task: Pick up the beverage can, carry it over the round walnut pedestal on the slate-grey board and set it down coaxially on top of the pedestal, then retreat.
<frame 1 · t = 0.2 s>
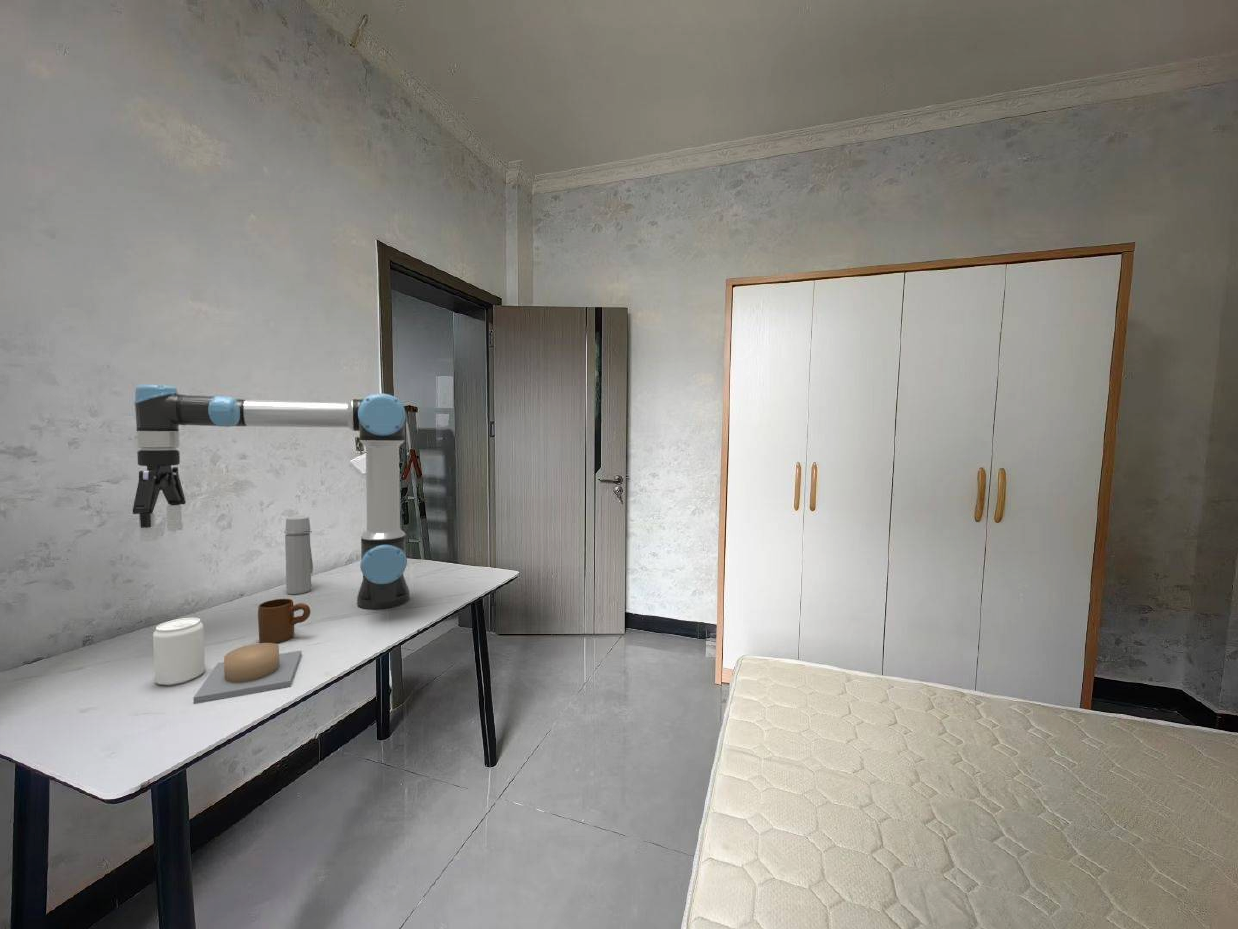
hand: (162, 535, 121), 28 cm above the table, fingers open, 13 cm apart
beverage can: (180, 678, 107), on the table
pedestal: (252, 677, 107), on the table
mug: (286, 639, 128), on the table
water bottle: (301, 591, 165), on the table
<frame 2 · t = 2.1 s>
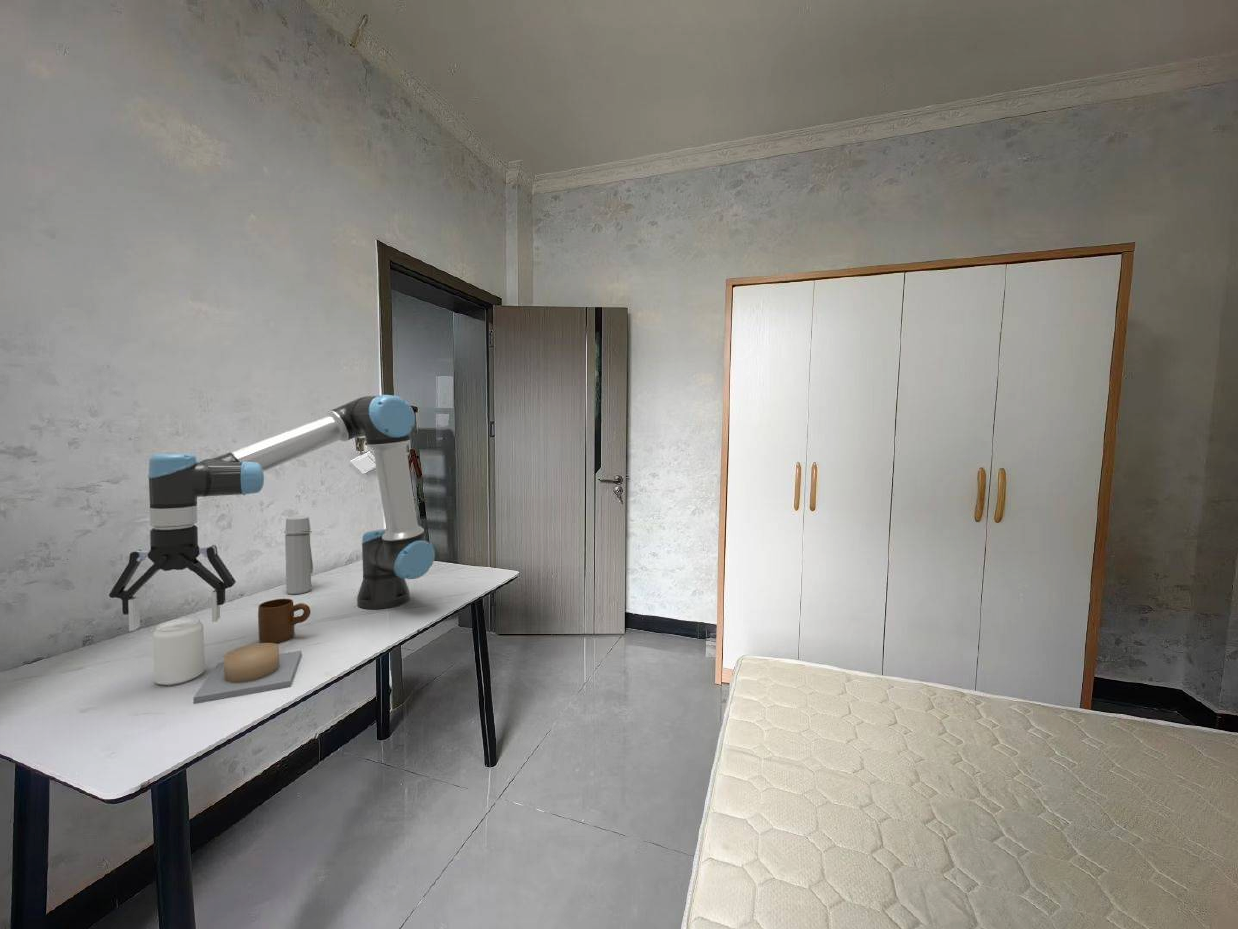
hand: (176, 624, 106), 12 cm above the table, fingers open, 13 cm apart
nothing on the table moved.
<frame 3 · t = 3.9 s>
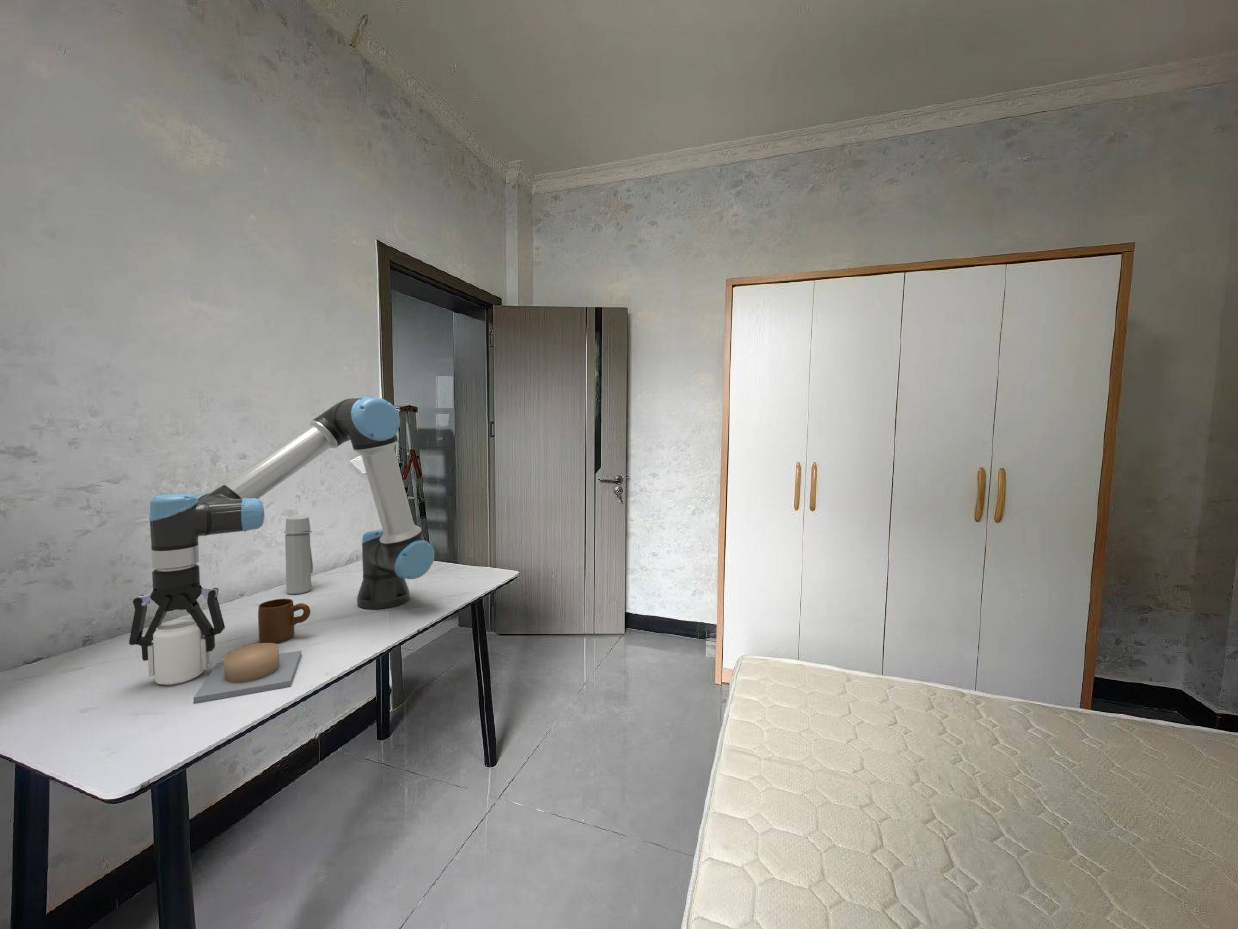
hand: (180, 669, 107), 2 cm above the table, fingers closed on beverage can, 8 cm apart
beverage can: (180, 678, 107), on the table, touching gripper
everything else where it was.
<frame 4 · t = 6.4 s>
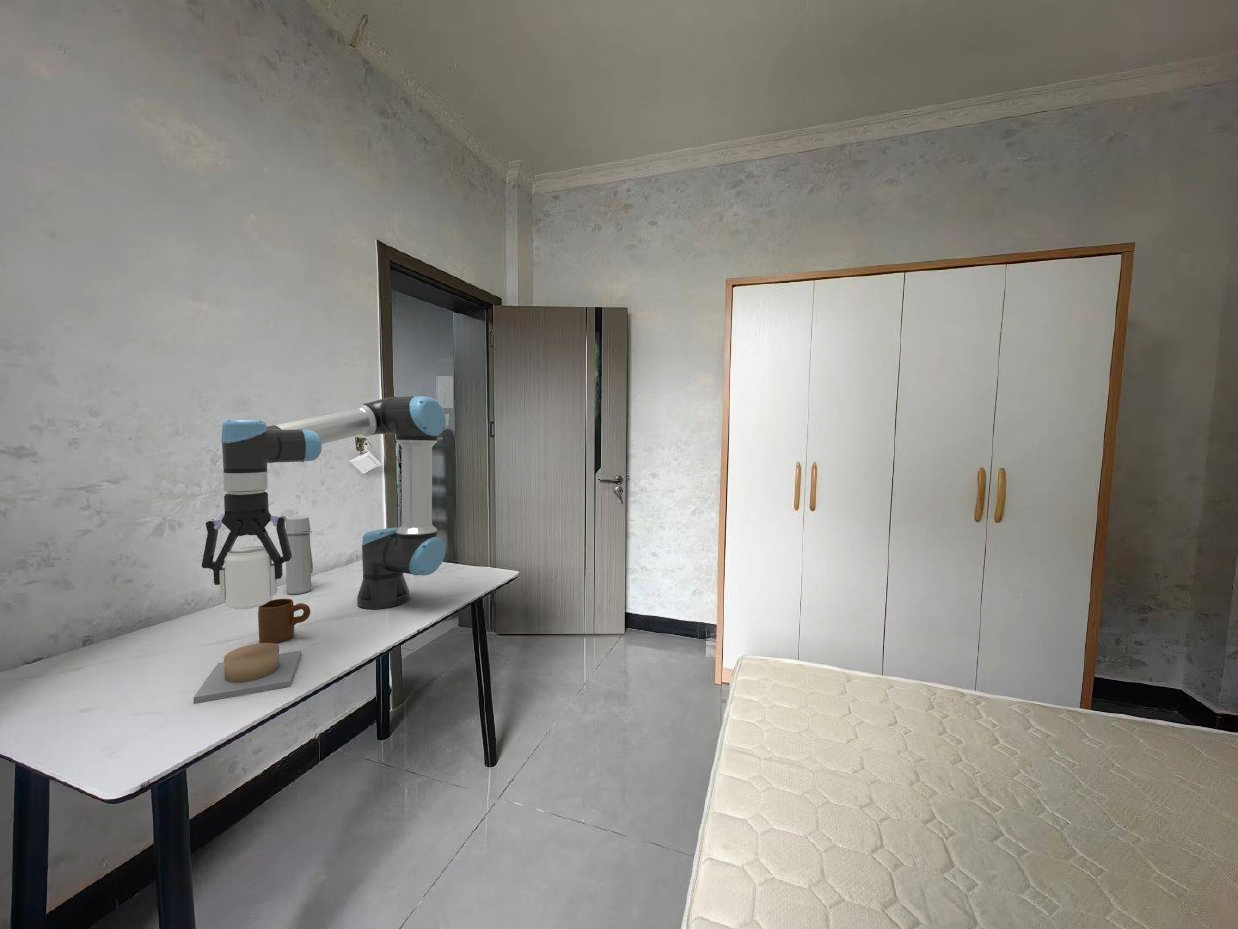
hand: (249, 596, 106), 18 cm above the table, fingers closed on beverage can, 8 cm apart
beverage can: (250, 605, 106), point 16 cm above the table, touching gripper
everything else where it was.
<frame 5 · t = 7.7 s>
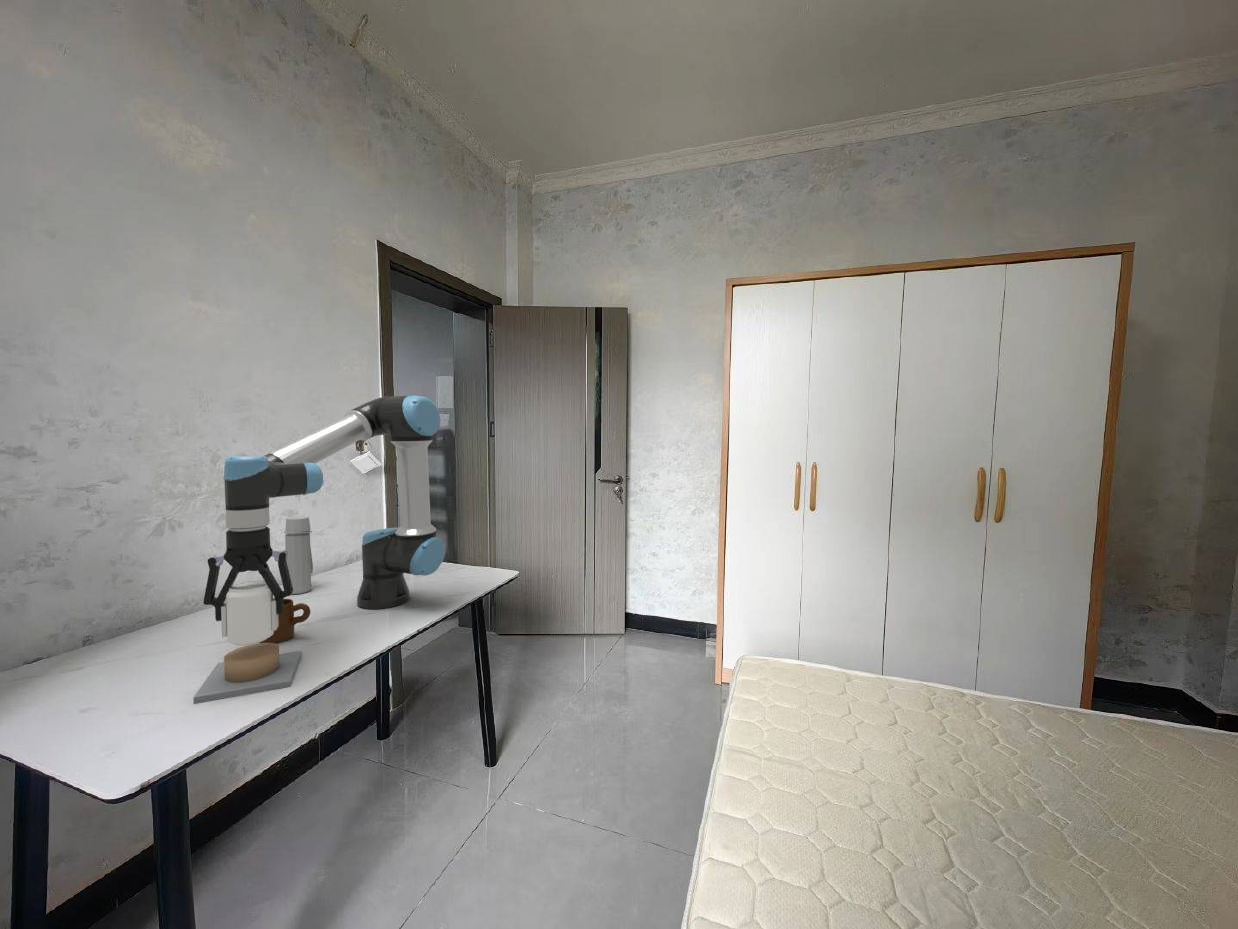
hand: (251, 631, 107), 10 cm above the table, fingers closed on beverage can, 8 cm apart
beverage can: (251, 640, 107), point 8 cm above the table, touching gripper
everything else where it was.
when the fingers open (8 cm above the table, at t = 8.9 s): beverage can drops 1 cm, resting on pedestal.
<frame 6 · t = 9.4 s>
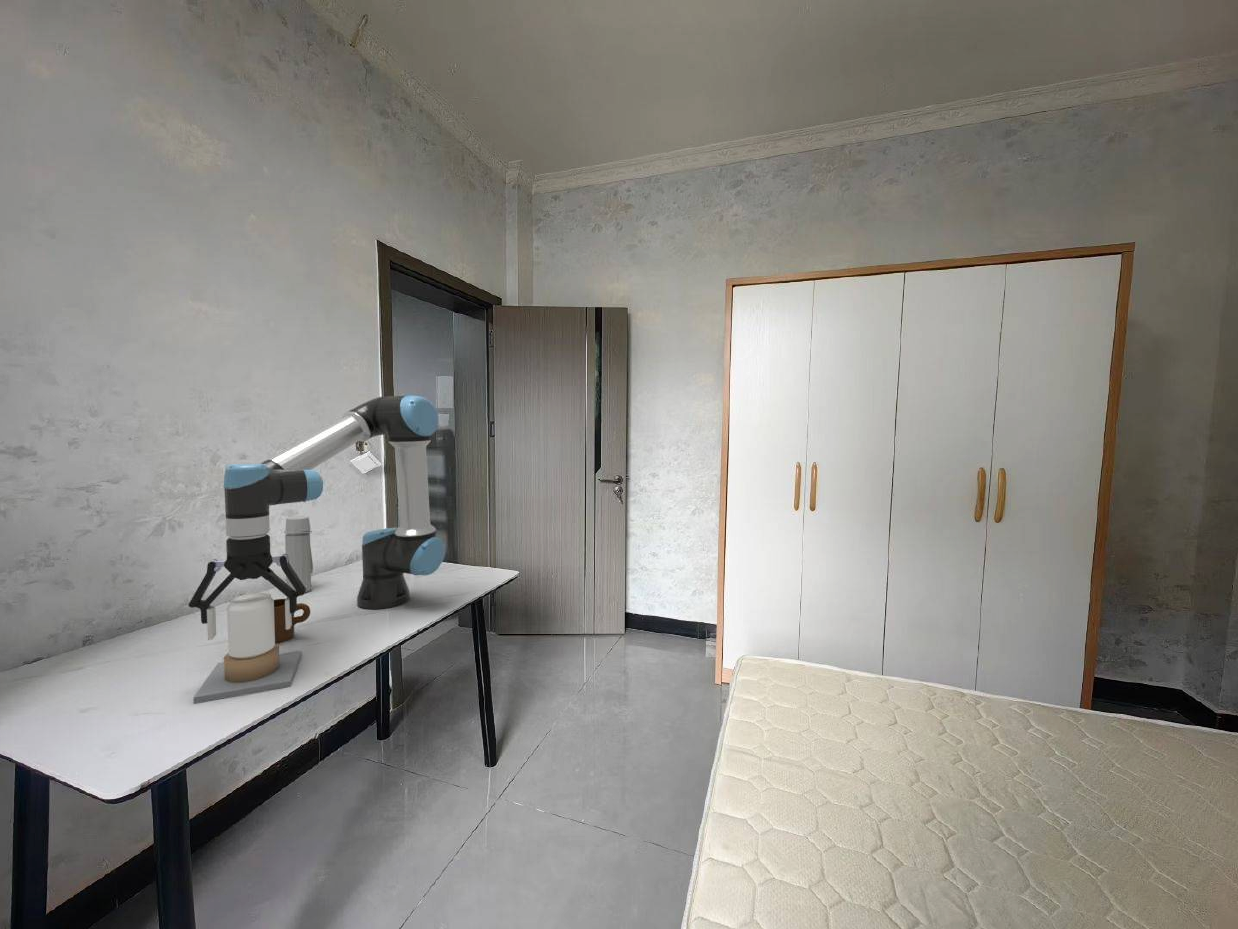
hand: (251, 632, 107), 10 cm above the table, fingers open, 13 cm apart
beverage can: (252, 653, 107), point 5 cm above the table, touching pedestal
everything else where it was.
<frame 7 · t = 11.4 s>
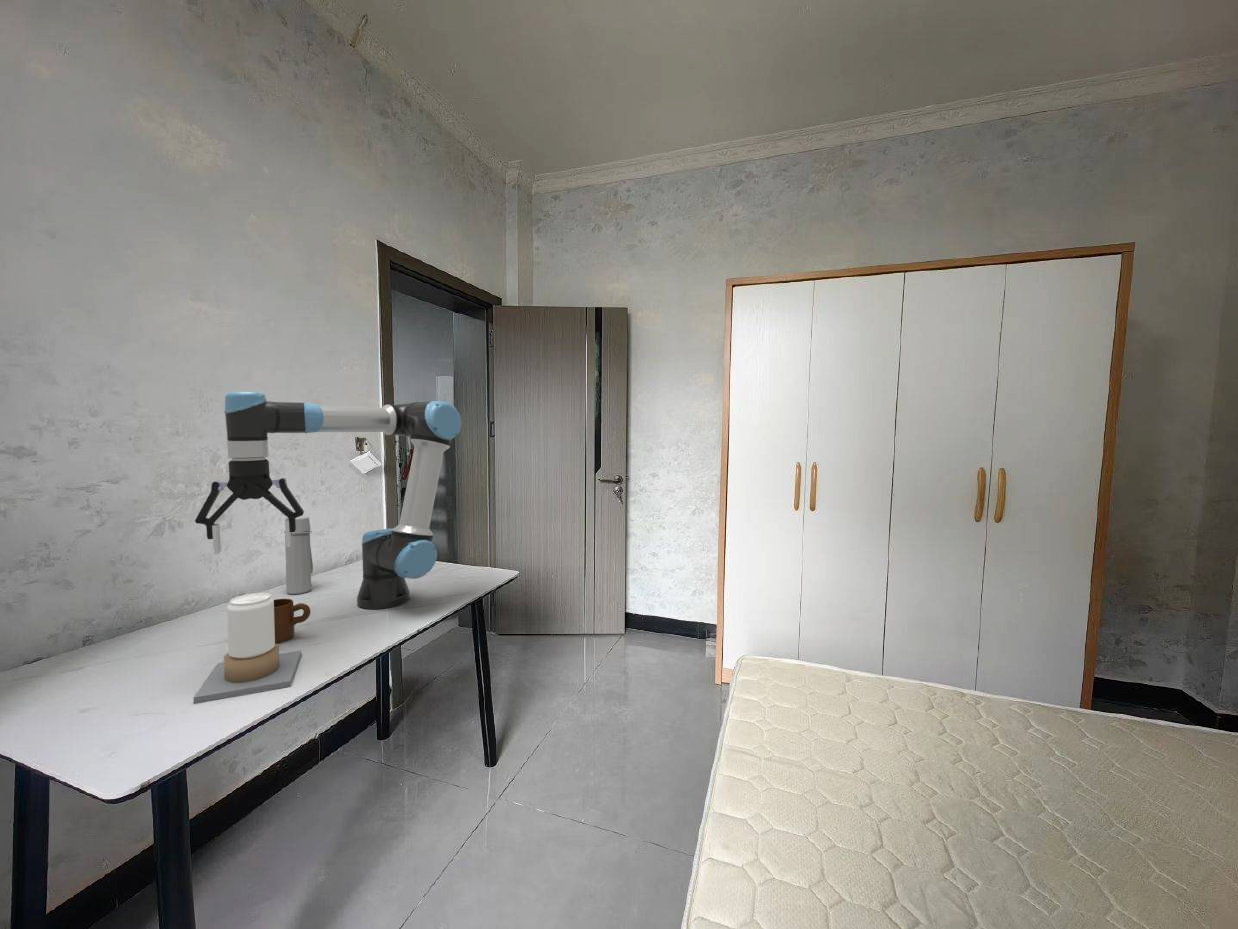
hand: (254, 549, 115), 26 cm above the table, fingers open, 13 cm apart
nothing on the table moved.
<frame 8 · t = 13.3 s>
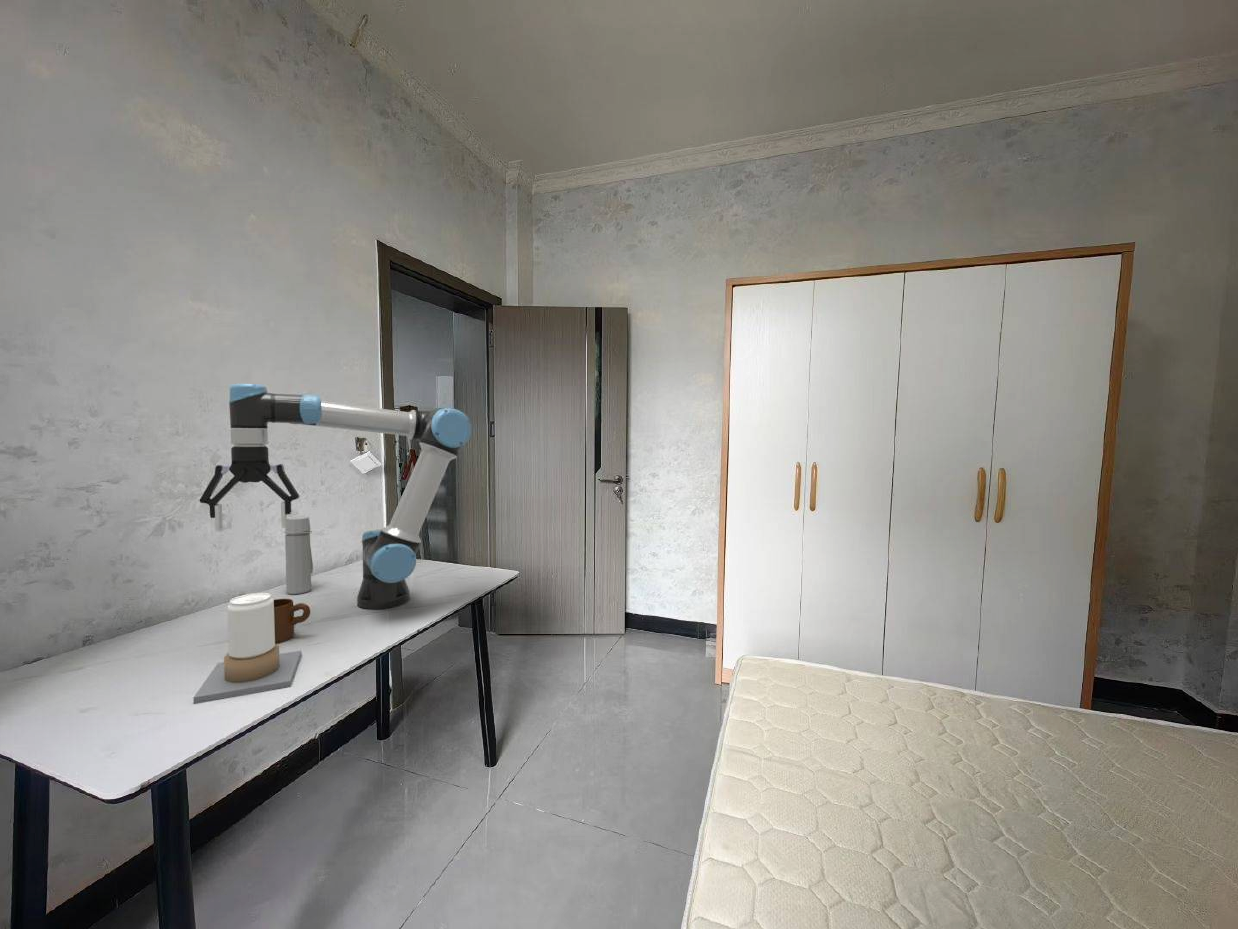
hand: (252, 528, 125), 29 cm above the table, fingers open, 13 cm apart
nothing on the table moved.
at the end: beverage can 0.1 cm off-centre on the pedestal, point 5.4 cm above the pedestal's base; beverage can tilted 0°; the gripper is holding nothing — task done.
